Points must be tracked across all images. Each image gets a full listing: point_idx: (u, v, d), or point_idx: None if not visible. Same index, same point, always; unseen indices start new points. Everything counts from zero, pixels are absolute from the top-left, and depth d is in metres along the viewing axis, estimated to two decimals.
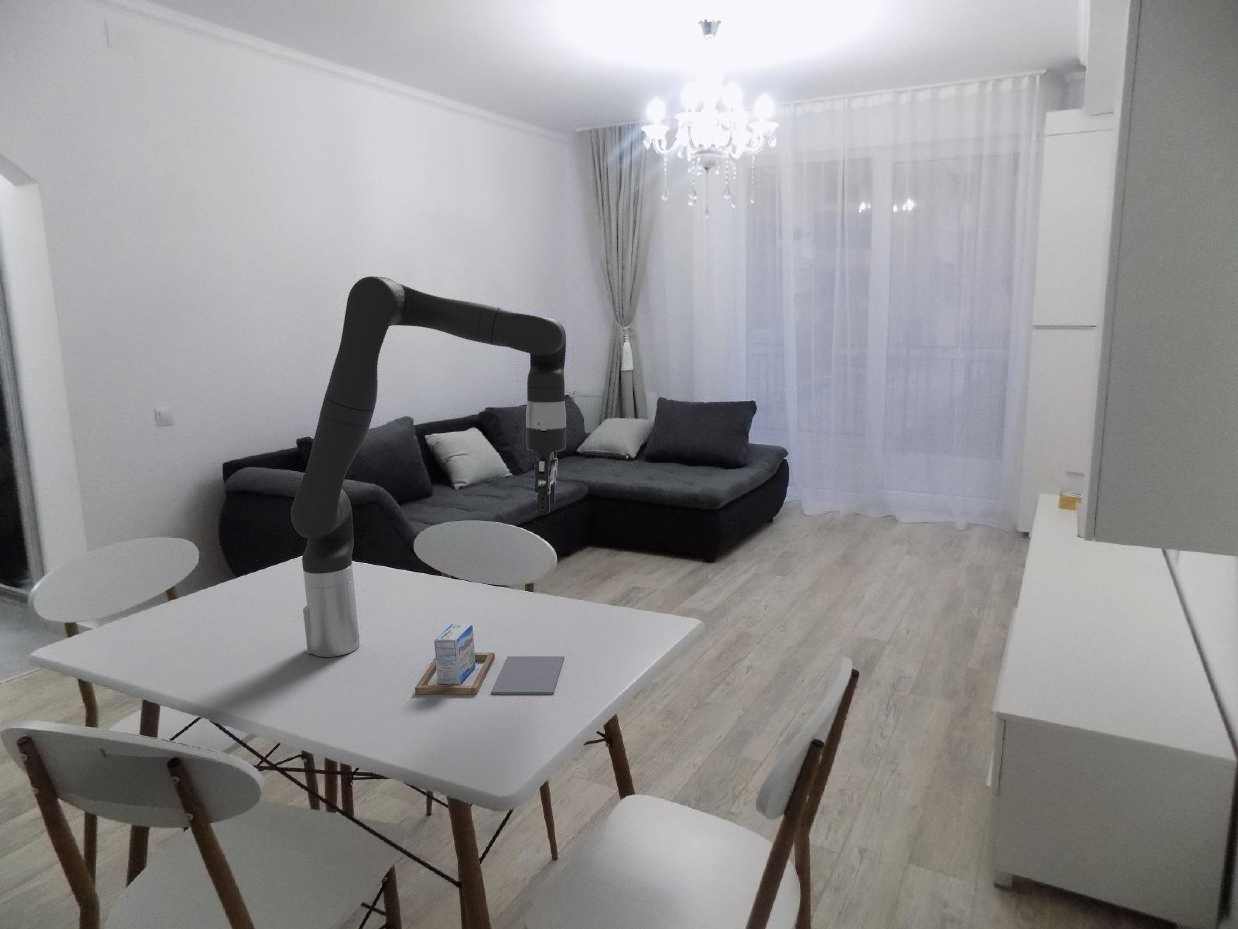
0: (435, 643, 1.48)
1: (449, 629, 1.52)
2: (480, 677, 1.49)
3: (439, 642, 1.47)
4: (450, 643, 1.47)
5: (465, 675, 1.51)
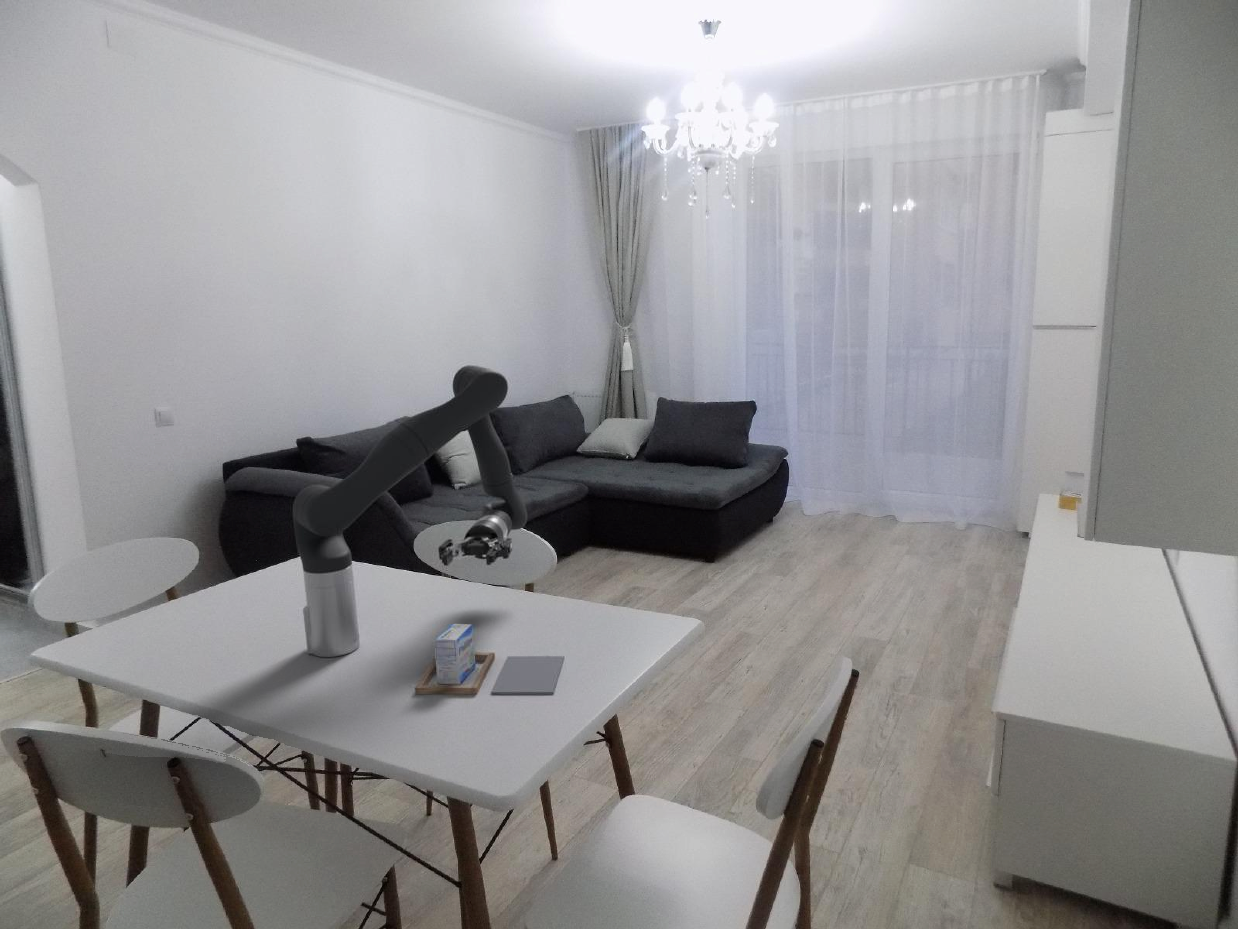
0: (435, 643, 1.48)
1: (449, 629, 1.52)
2: (480, 677, 1.49)
3: (439, 642, 1.48)
4: (450, 643, 1.47)
5: (465, 675, 1.51)
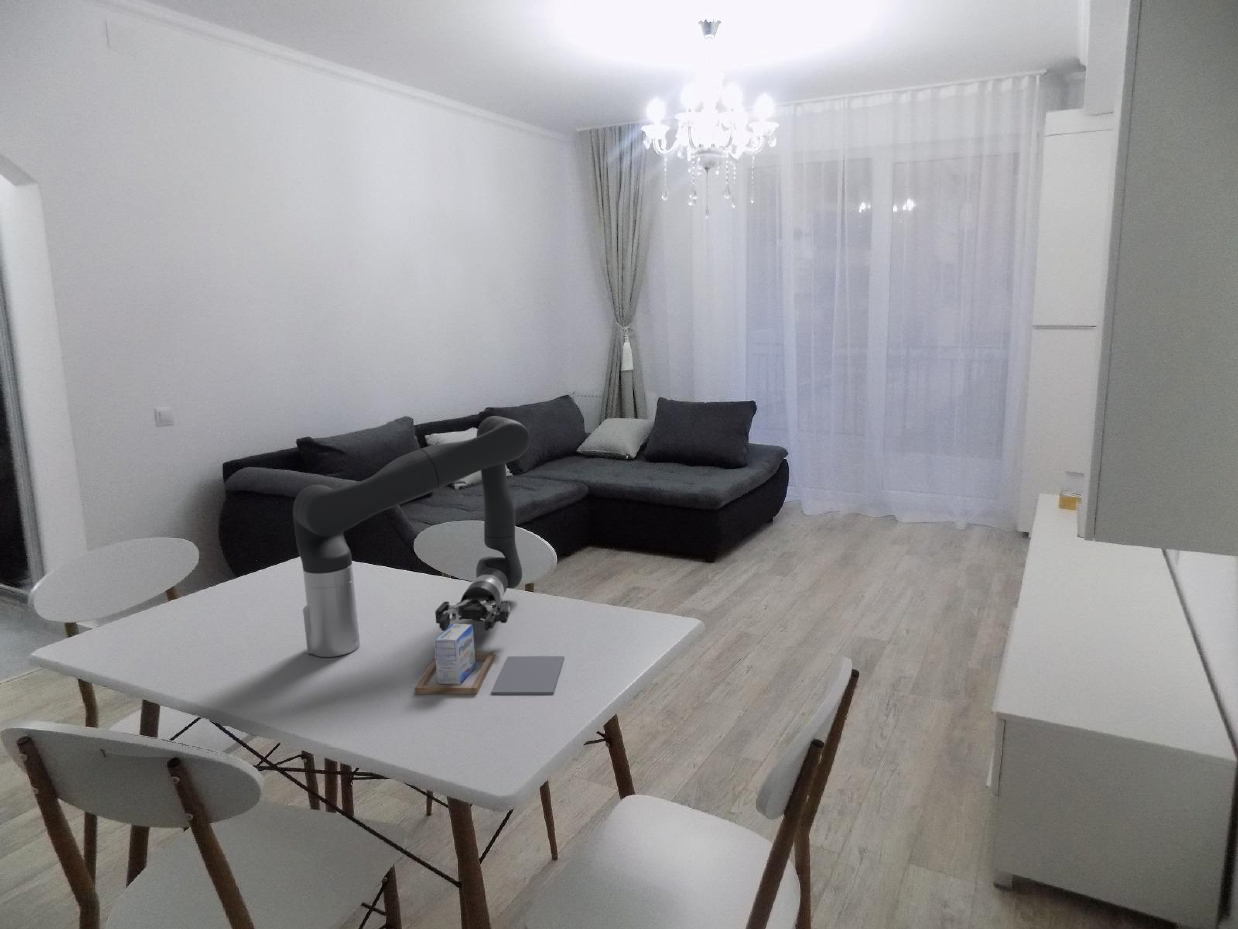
0: (435, 643, 1.48)
1: (449, 629, 1.52)
2: (480, 677, 1.49)
3: (439, 642, 1.47)
4: (450, 643, 1.47)
5: (465, 675, 1.51)
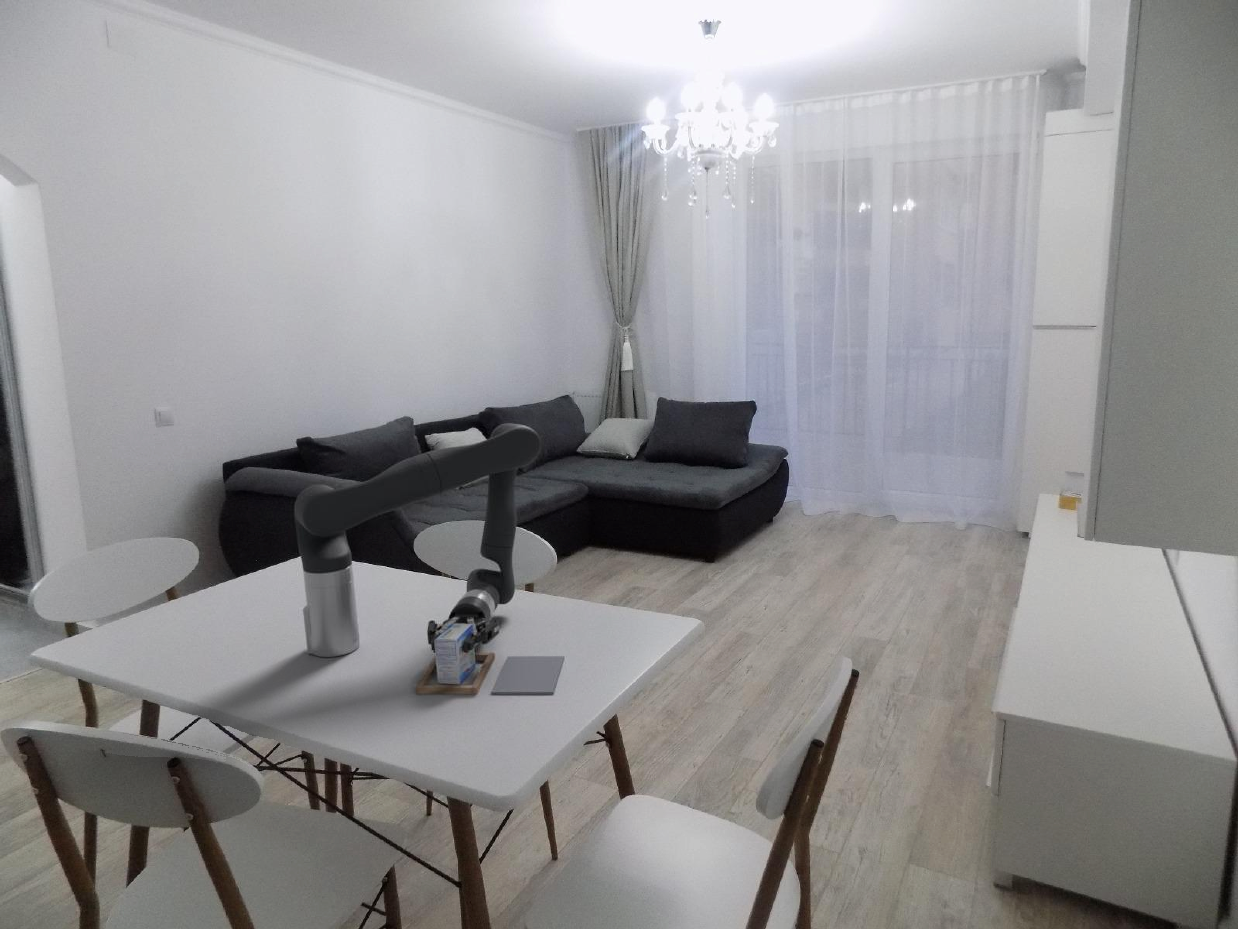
0: (435, 643, 1.48)
1: (449, 629, 1.52)
2: (480, 677, 1.49)
3: (440, 641, 1.47)
4: (451, 642, 1.47)
5: (465, 675, 1.51)
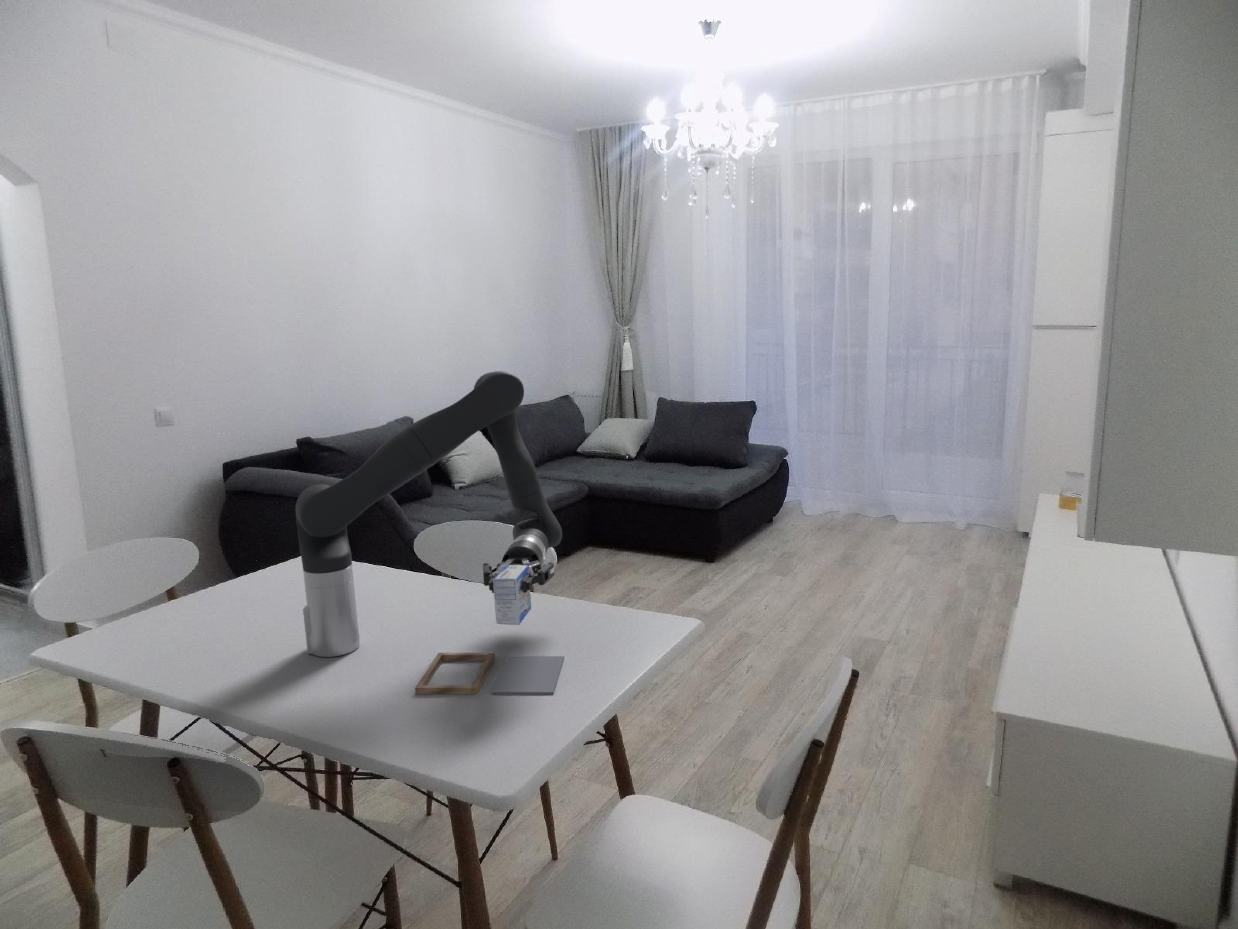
0: (494, 582, 1.45)
1: (506, 569, 1.50)
2: (480, 677, 1.49)
3: (499, 581, 1.45)
4: (510, 581, 1.45)
5: (523, 615, 1.48)
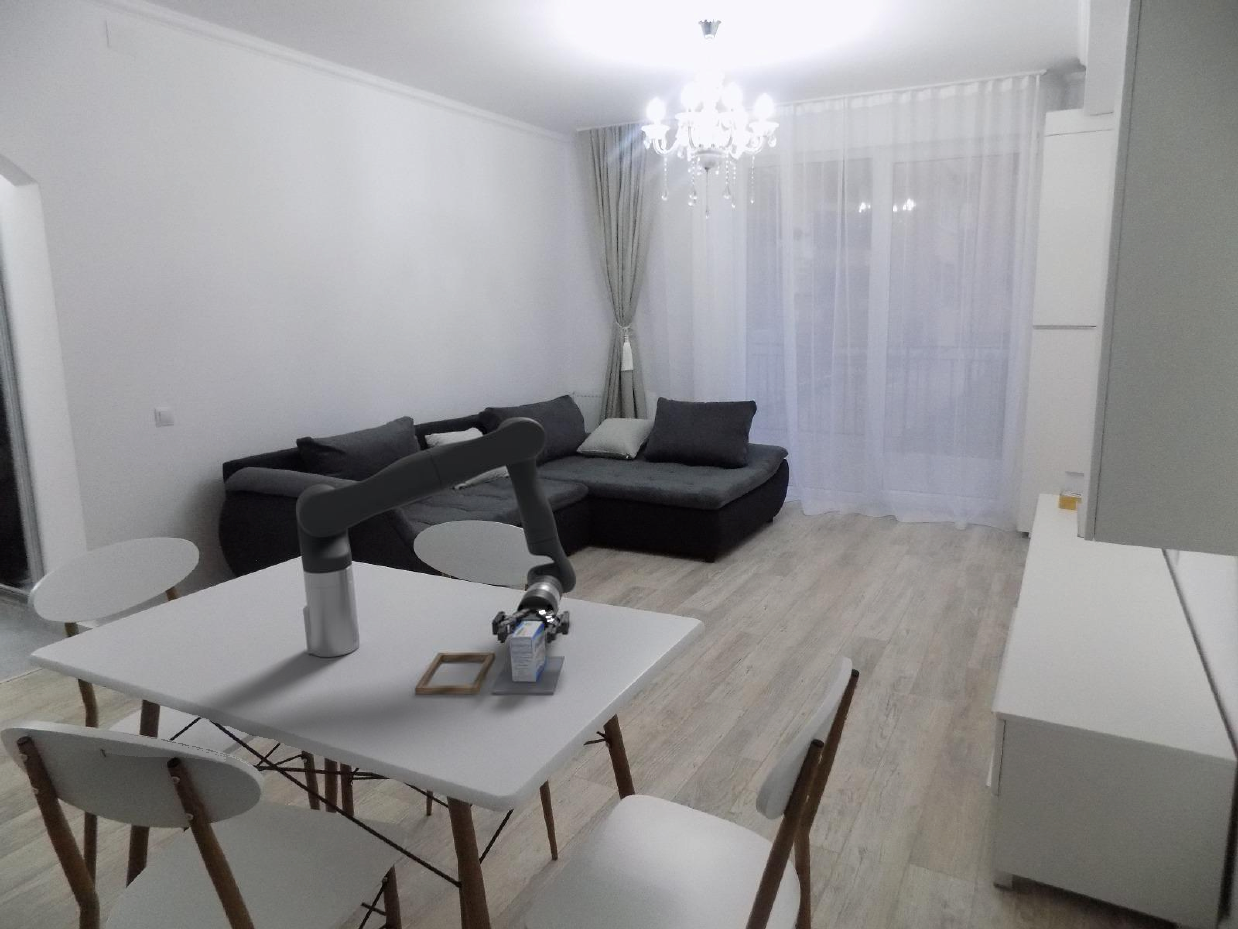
0: (511, 640, 1.47)
1: (521, 626, 1.51)
2: (480, 677, 1.49)
3: (515, 639, 1.46)
4: (527, 640, 1.46)
5: (539, 672, 1.50)
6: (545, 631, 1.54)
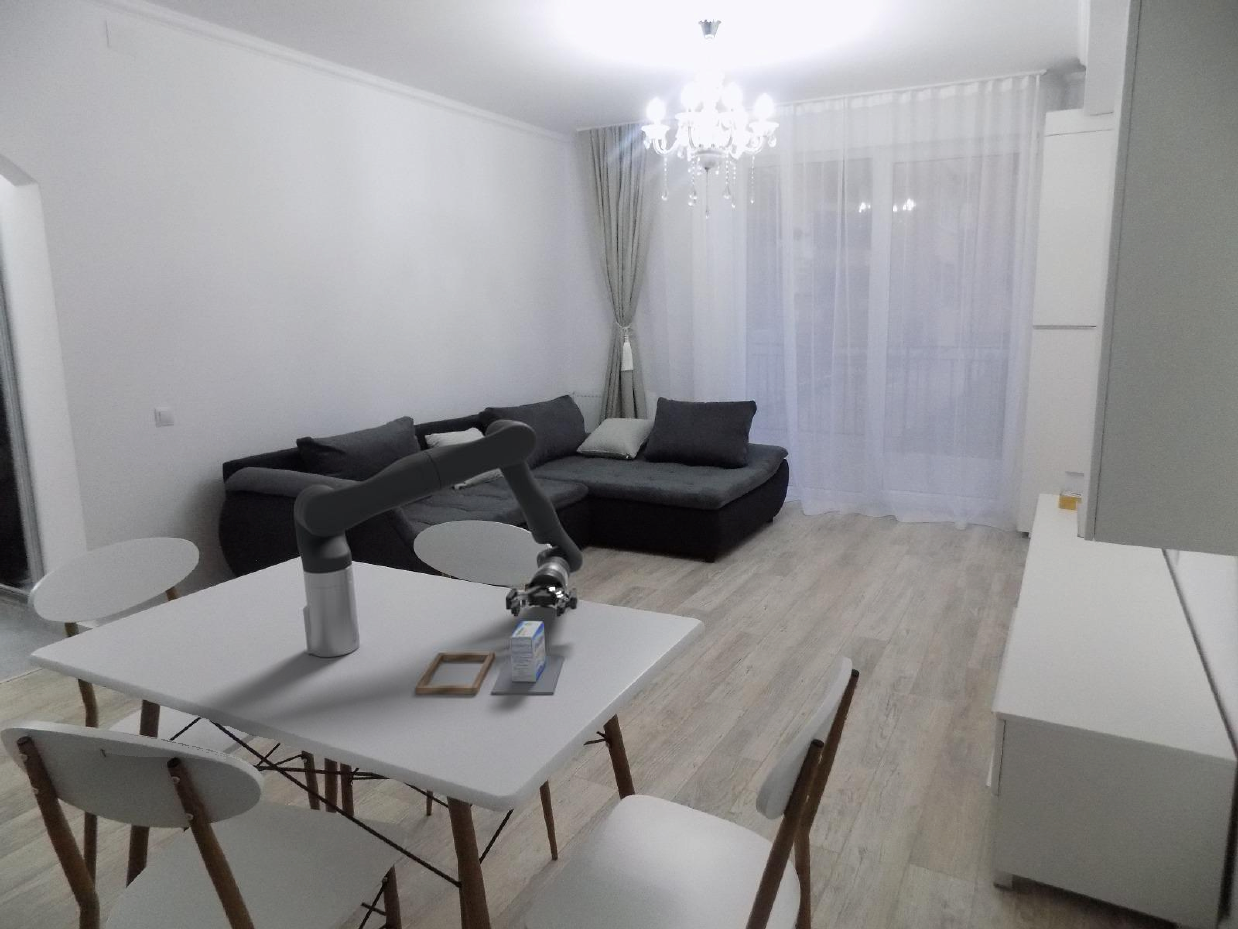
0: (511, 640, 1.47)
1: (521, 626, 1.51)
2: (480, 677, 1.49)
3: (515, 639, 1.46)
4: (527, 640, 1.46)
5: (539, 672, 1.50)
6: (555, 606, 1.67)
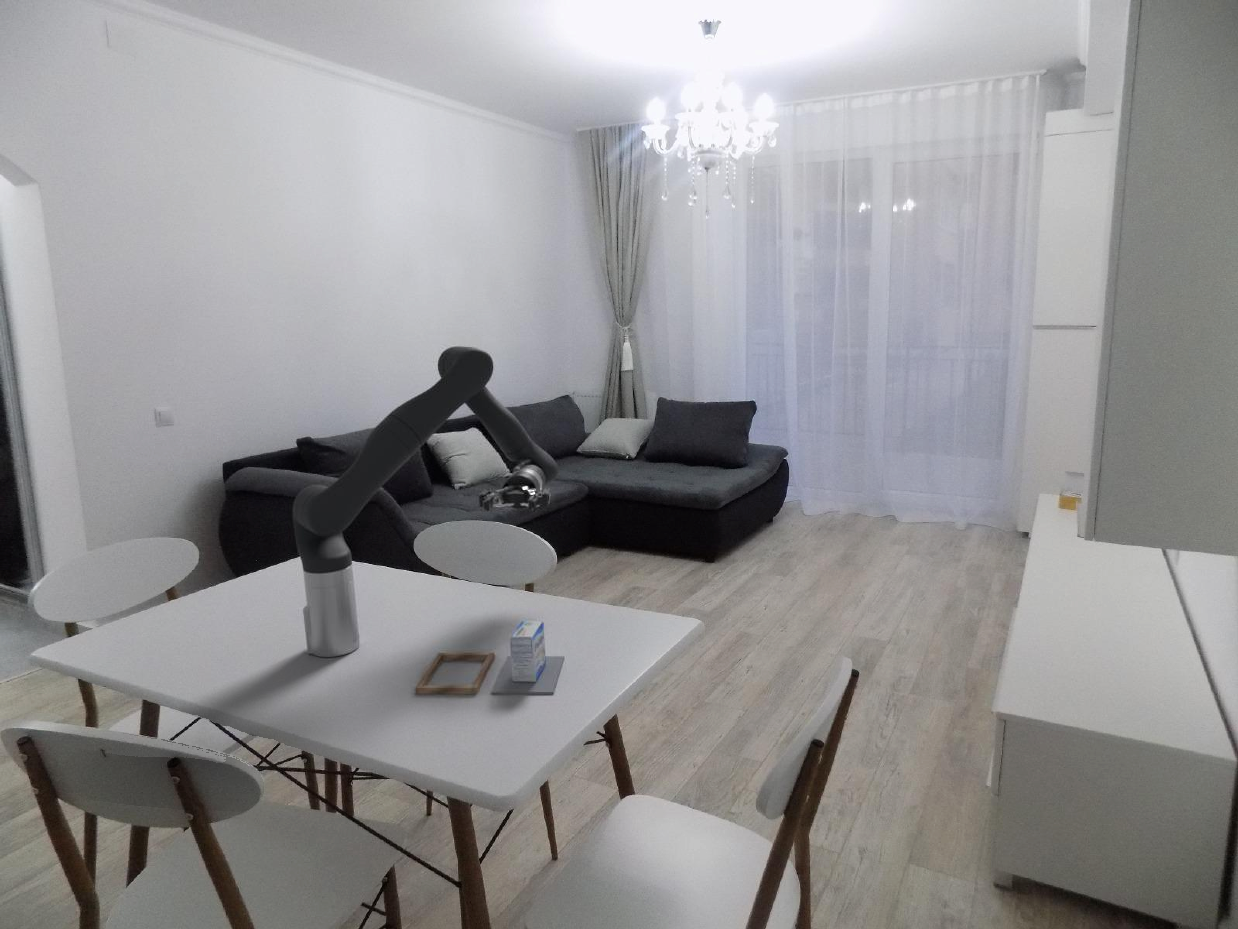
0: (511, 640, 1.47)
1: (521, 626, 1.51)
2: (480, 677, 1.49)
3: (515, 639, 1.46)
4: (527, 640, 1.46)
5: (539, 672, 1.50)
6: (527, 504, 1.69)
